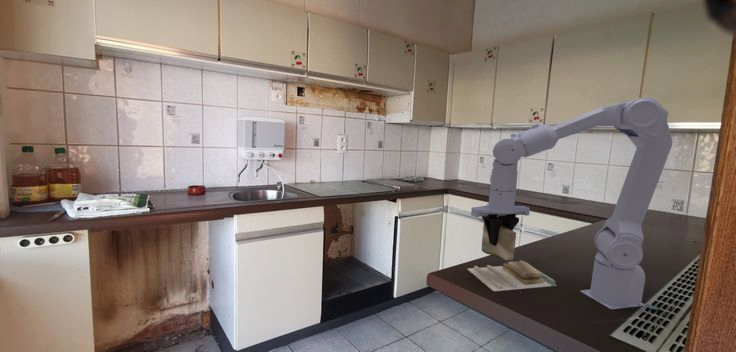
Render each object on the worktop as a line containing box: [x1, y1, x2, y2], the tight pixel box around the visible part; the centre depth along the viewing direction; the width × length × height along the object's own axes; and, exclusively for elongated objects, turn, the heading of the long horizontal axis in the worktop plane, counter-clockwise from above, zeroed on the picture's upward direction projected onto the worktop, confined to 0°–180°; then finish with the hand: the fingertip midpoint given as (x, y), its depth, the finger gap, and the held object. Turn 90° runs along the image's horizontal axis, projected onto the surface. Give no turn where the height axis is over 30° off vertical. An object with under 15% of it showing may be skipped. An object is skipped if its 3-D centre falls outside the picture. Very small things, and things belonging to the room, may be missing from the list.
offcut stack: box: [502, 261, 544, 285], centre depth 84 cm, size 6×9×2 cm, turn 13°
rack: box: [467, 260, 557, 292], centre depth 84 cm, size 17×12×2 cm
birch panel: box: [481, 222, 517, 261], centre depth 81 cm, size 2×10×6 cm, turn 13°
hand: (497, 244), depth 81 cm, fingers closed on birch panel, 2 cm apart
